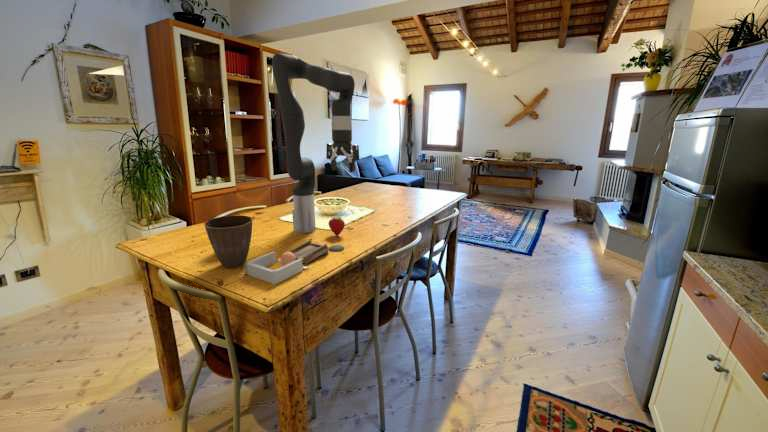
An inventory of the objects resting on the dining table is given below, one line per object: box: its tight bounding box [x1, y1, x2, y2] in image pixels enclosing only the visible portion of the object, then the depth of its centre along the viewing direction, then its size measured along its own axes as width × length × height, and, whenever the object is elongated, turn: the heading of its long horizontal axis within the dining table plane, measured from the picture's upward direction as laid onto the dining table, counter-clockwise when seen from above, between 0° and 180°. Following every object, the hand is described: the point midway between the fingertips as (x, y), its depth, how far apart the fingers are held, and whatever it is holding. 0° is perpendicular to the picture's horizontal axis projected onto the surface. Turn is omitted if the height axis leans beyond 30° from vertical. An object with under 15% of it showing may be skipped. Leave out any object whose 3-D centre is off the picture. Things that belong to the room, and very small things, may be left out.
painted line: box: [277, 258, 309, 270], centre depth 120 cm, size 14×1×1 cm, turn 59°
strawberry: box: [328, 214, 346, 236], centre depth 149 cm, size 6×8×10 cm
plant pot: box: [203, 214, 253, 269], centre depth 117 cm, size 15×15×16 cm
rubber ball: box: [280, 251, 296, 266], centre depth 118 cm, size 5×5×5 cm
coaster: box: [328, 244, 345, 253], centre depth 134 cm, size 6×6×1 cm
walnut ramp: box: [287, 239, 329, 265], centre depth 126 cm, size 10×12×4 cm
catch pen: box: [243, 251, 304, 285], centre depth 112 cm, size 14×12×4 cm
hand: (342, 171), depth 132 cm, fingers open, 8 cm apart
